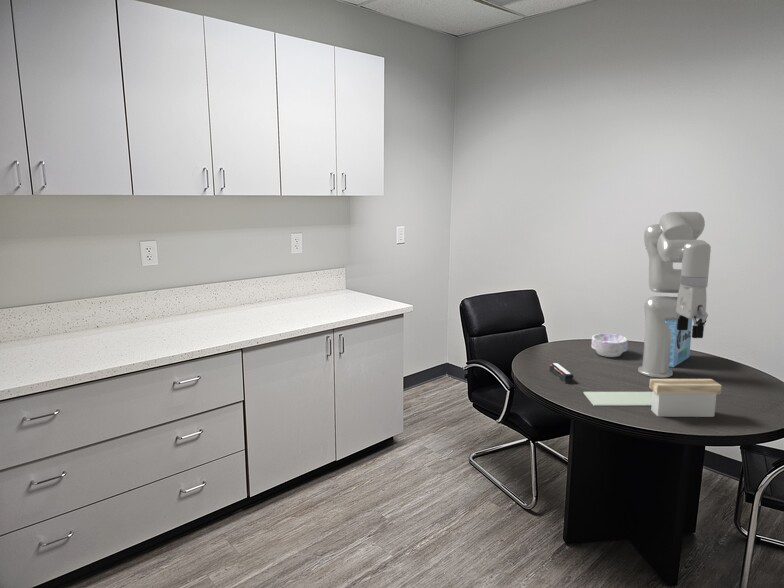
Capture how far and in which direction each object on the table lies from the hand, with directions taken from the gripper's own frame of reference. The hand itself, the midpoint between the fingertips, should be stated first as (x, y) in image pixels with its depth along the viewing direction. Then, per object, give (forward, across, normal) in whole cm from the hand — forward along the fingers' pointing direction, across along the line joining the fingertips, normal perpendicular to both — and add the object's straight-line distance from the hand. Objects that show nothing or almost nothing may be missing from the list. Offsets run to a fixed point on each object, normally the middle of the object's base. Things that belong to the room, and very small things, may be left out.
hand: (689, 333), depth 170 cm
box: (+28, 0, 0) cm, 28 cm away
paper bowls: (+27, -65, -2) cm, 71 cm away
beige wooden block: (+20, 0, 0) cm, 20 cm away
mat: (+27, -12, -14) cm, 33 cm away
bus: (+28, -38, -30) cm, 56 cm away
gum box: (+27, -55, +23) cm, 66 cm away
